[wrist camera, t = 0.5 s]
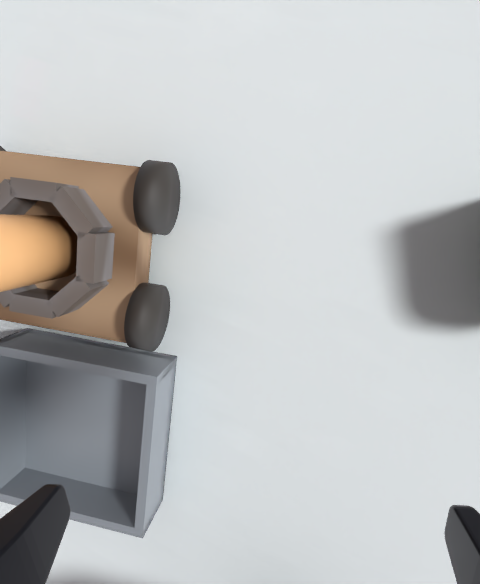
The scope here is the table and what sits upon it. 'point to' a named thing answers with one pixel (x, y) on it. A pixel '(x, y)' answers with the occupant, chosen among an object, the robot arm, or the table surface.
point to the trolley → (95, 244)
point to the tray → (85, 426)
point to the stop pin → (35, 250)
